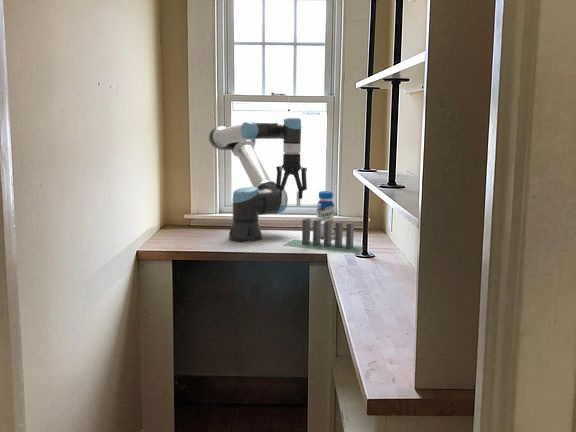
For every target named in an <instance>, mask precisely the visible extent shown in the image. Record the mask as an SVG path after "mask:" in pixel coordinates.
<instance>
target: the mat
mask: <svg viewBox="0 0 576 432" xmlns="http://www.w3.org/2000/svg"><path fill="white" fill-rule="evenodd" d="M282 246H283V247H291V248H302V249H308V250H309V249H312V250H319V251H331V252H339V253H349V254H356V255H357V254H360V253H361V252H362V251H363V250H362V245H353V247H352V248H351V249H346V244H343V243H342V246H341V247H340V248H335V242H334V243H332V242H331V245H330V246H328V247H324V241H323V242H321V241H320V244H319V245H317V246H313V240H312V241H311V240H310V243H308V244H306V245H303V244H302V239H301V240H300V239H292V240H290V241H288V242H286V243H285V244H283V245H282Z"/></svg>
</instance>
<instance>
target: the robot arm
mask: <svg viewBox="0 0 576 432" xmlns="http://www.w3.org/2000/svg"><path fill="white" fill-rule="evenodd" d="M301 137H302V119H301V118H300V117H285V118H284V119H283V121H276V120H275V121H252V120H248V121H243V123H242V124H236V125H232V126H231V125H230V126H226V125H224V126H223V125H221V126H216V127H214V128H212V129H211V131H210V132H209V133H208V140H209V141H208V142H209V143H210V145H211V146H212V148H213V147H214V148H215V149H217V150H222V151H231V153H232V155H233V156H235V157H236V158H237V157H238V159H239V162H240V163H241V165H242V167H243V169H244V171H245V173H246V175H247V177H248V179H249V180H250V183H251V185H252V186H246V187H241V188H238V189H235V190H234V191H233V193H232V223H231V227H230V230H229V234H228V240H229V241H233V242H238V243H246V242H251V243H252V242H257V241H261V240H263V233H262V229H261V226H260V224H259V216H264V215H265V216H266V215H277V214H282V213H284V212H285V210H286V209H287V206H288V201H289V200H288V197H289V196H288V194H287V190H286V189H285V187H286V185H287V182H288V179H289V176H290V175H292V176H293V177H294V179H295V180H294V181H295V183H296V187H297V191H296V207H300V206H301V200H302V199H303V192H304V191H306V190H308V189H307V188H308V185H307V183H308V182H307V170H308V168H307V167H303V166H302V165H301V154H300V153H301V151H302V150H301V143H302V141H301V140H302V138H301ZM259 139H260V140H262V139H263V140H265V139H266V140H269V139H271V140H273V139H275V140H278V139H280V140H281V139H282V140H283V149H282V150H283V151H282V152H283V155H282V162H283V163H282V165H278V166H276V182H275V181H273V180H271V179H270V177H269V175H268V173H267V171H266V170H265V167H264V166H263V164H262V162H261V161H260V157H258V155H257V153H256V151H255V145H256V140H259ZM283 171H284V173H282V172H283ZM299 172H301V178H300V173H299ZM282 174H283V177H282Z"/></svg>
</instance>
